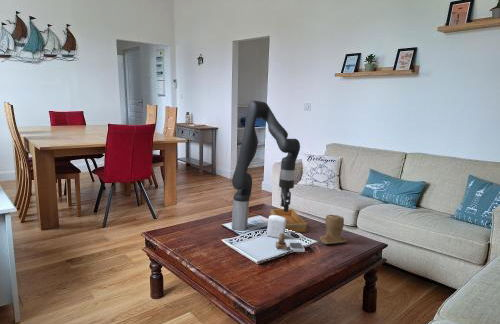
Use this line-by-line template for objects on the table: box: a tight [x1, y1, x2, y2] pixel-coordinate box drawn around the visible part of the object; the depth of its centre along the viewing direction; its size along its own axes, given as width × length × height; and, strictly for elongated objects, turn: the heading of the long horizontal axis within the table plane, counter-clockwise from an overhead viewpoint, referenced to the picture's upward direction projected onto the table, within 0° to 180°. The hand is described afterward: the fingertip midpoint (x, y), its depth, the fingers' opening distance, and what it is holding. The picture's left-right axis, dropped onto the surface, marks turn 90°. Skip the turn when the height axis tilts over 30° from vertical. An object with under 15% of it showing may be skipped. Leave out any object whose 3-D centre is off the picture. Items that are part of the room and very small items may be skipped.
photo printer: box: [266, 215, 286, 239], centre depth 194 cm, size 10×4×12 cm, turn 72°
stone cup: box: [319, 214, 347, 245], centre depth 192 cm, size 15×12×15 cm
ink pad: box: [287, 242, 306, 253], centre depth 180 cm, size 7×8×2 cm
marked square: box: [304, 245, 322, 253], centre depth 181 cm, size 8×8×1 cm
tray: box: [269, 208, 309, 233], centre depth 217 cm, size 31×15×6 cm, turn 10°
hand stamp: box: [275, 233, 288, 250], centre depth 179 cm, size 5×5×8 cm
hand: (284, 209), depth 176 cm, fingers open, 8 cm apart
